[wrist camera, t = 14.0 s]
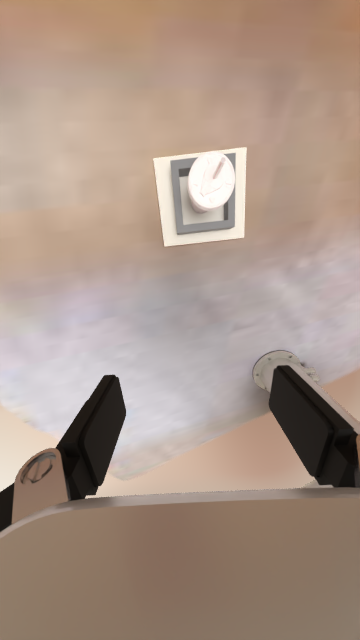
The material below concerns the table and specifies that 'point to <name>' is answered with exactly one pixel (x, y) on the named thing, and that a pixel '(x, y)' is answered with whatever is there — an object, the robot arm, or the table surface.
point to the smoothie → (210, 181)
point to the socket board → (177, 206)
